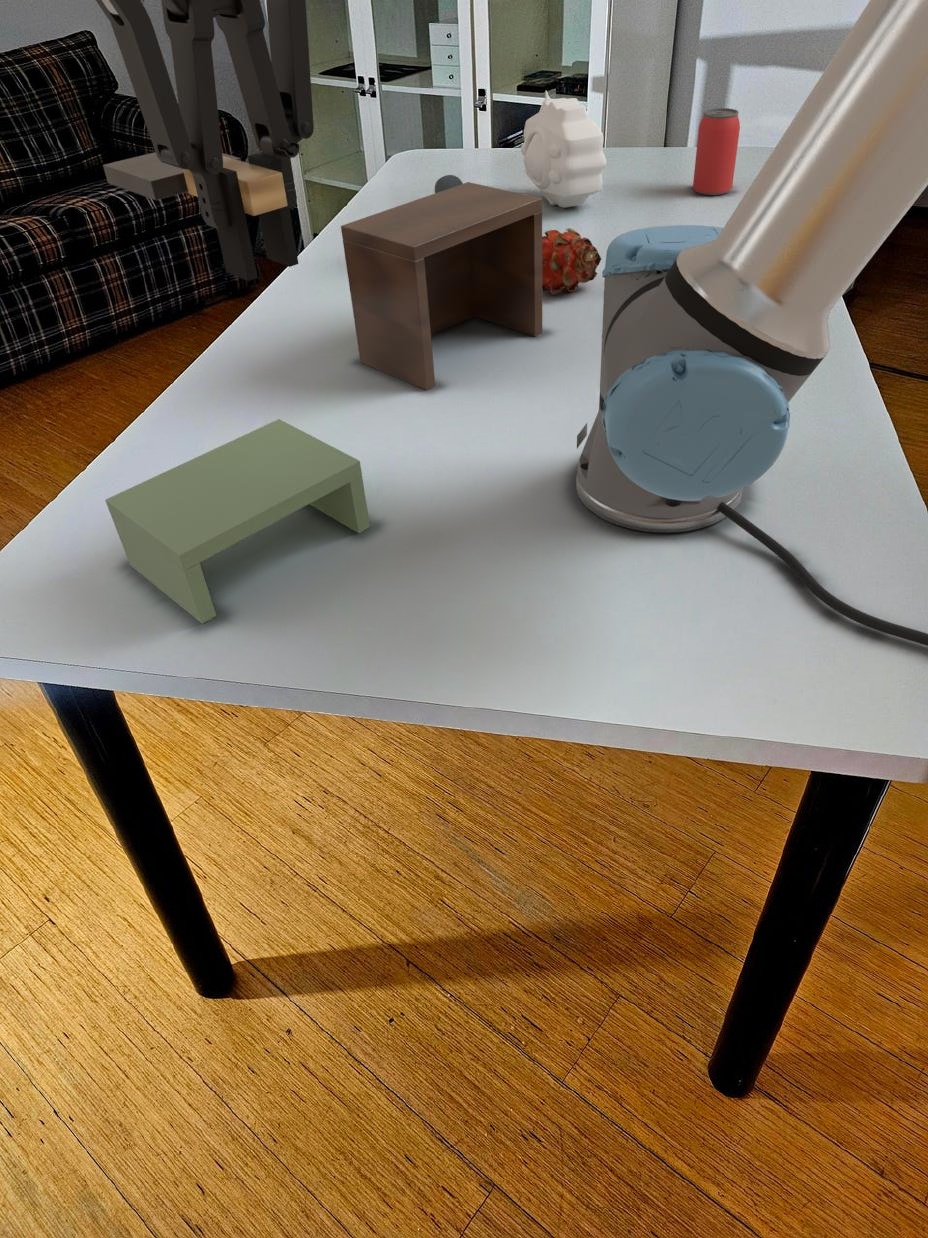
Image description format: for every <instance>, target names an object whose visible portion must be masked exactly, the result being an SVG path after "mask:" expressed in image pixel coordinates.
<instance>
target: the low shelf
mask: <svg viewBox="0 0 928 1238" xmlns="http://www.w3.org/2000/svg"><path fill="white" fill-rule="evenodd" d="M104 502H105V503H106V506H107V509H108V511H109V514H110V517H111V519H112V522H113V525H114V527H115V530H116V532H117V535H118V538H119V541H120V543H121V545H122V547H123V550H124V553H125V556H126V558H127V561H128V563H129V566H130V567H132V568H133V569H134V570H135V571H136V572H138V573H139V574H140V575H141V576H142V577H144V579H146V580H148V581H149V582H150V583H151V584H152V585H153V586H155V587H156V588H157V589H158V590H159V591H161V592H162V593H163V594H165V595H166V596H167V597H168V598H170V599H171V600H172V601H173V602H174V603H176V604H177V605H178V606H179V607H181V608H182V609H183V610H185V611H186V612H187V613H188V614H189V615H191V616H192V617H193V618H194V619H195V620H197V622H199V623H200V624H202V625H203V624H205V623H207V622H208V621H210V620H212V619H215V617H217V613H216V610H215V607H214V604H213V601H212V597H211V594H210V591H209V588H208V585H207V581H206V579H205V576H204V573H203V568H202V565H201V562H204V561H205V560H207V559H210V558H211V557H213V556H214V555H216V554H218V553H220V552H222V551H224V550H226V549H228V548H229V547H231V546H234V545H235V544H237V543H239V542H240V541H242V540H244V539H247V538H248V537H250V536H252V535H254V534H255V533H258V532H259V531H261V530H263V529H266V528H267V527H269V526H271V525H272V524H275V523H276V522H278V521H280V520H282V519H283V518H286V517H288V516H290V515H292V514H293V513H295V512H297V511H299V510H301V509H302V508H304V507H306V506H308V505H309V506H312V507H313V508H315V509H317V510H318V511H319V512H322V513H323V514H325V515H327V516H328V517H329V518H332V519H333V520H335V521H337V522H338V523H339V524H341V525H343V526H345V527H346V528H348V529H350V530H352V531H354V532H355V533H357V534H361V533H363V532H364V531H366V530H368V529H369V528H370V527H371V523H370V517H369V511H368V505H367V499H366V493H365V485H364V479H363V472H362V466H361V461H360V460H359V459H357V458H355V457H353V456H351V455H349V454H347V453H346V452H343V451H341V450H340V449H338V448H336V447H334V446H332V445H330V444H329V443H326V442H324V441H322V440H320V439H318V438H316V437H315V436H313V435H311V434H309V433H307V432H305V431H304V430H301V429H299V428H297V427H296V426H293V425H292V424H290V423H287V422H286V421H284V420H282V419H280V418H278V419H276V420H274V421H271V422H269V423H267V424H265V425H263V426H261V427H259V428H256V429H255V430H252V431H250V432H248V433H246V434H243V435H241V436H239V437H236V438H235V439H233V440H231V441H229V442H227V443H223V444H222V445H220V446H218V447H215V448H213V449H211V450H209V451H207V452H205V453H202V454H201V455H199V456H196V457H194V458H191V459H189V460H188V461H185V462H183V463H181V464H179V465H177V466H174V467H173V468H171V469H168V470H166V471H164V472H162V473H160V474H158V475H156V476H153V477H151V478H149V479H147V480H145V481H143V482H140V483H138V484H136V485H134V486H131V487H129V488H127V489H125V490H123V491H120V492H119V493H117V494H115V495H112V496H110V497H108V498H106V499H105V500H104Z"/></svg>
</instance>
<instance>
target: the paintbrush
mask: <svg viewBox="0 0 928 1238" xmlns="http://www.w3.org/2000/svg"><path fill="white" fill-rule="evenodd" d="M461 184H464V182H463V181H462V180H461V178H459V177H458V176H456V175H454V174H445V175H443V176H441V177H439V179H437V180H436V182H435V183H434V194H435V193H438V192H441V191H444V190H447V189H449V188H452V187H455V186H458V185H461Z"/></svg>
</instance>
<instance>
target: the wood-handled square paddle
mask: <svg viewBox="0 0 928 1238" xmlns="http://www.w3.org/2000/svg"><path fill="white" fill-rule="evenodd" d="M222 156H223V168H227V169H230V170H234V171H237V176H238V182H239V187H240V192H241V197H242V202H243V207H244V211H245V214H246V215H249V216H252V217H255V216H259V214H262V213H266V212H269V211H272V210H276V209H279V208H282V207H286V206H287V200H286V194H285V188H284V182H283V176H282V173H281V172H278V171H274V170H271V169H267V168H264V167H260V166H256V165H253V164H249V162H247V161H242V159H241V158H240V157H237V156H233V155H230V154H227V153H223V152H222ZM102 167H103V171H104V174H105V177H106V181H107V183H108V184H110V185H113V186H115V187H118V188H121V189H123V190H126V191H129V192H132V193H134V194H137V195H140V196H142V197H145V198H148V199H151V200H154V201H160V200H162V199H166V198H170V197H174V196H178V195H181V194H186V193H188V194H189V195H190V196H193V197H197V198H198V195H197V191H196V187H195V182H194V178H193V175H192V173H191V172H190V171H189V170H188V169H187V170H185V169H182V168H178V167H175V166H172V165H169V164H166V163H163V162H161V161H160V160H159V159H158V157H157V155H156V152H155V151H154V152H151V153H145V154H143V155H139V156H134V157H129V158H126V159H122V160H118V161H113V162H110V163H105V164H103V165H102Z"/></svg>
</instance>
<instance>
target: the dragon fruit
mask: <svg viewBox="0 0 928 1238" xmlns="http://www.w3.org/2000/svg"><path fill="white" fill-rule="evenodd" d="M565 230H566V231H564V232H561V231H559V230H557V229H551V230H546V231H544V235H542V290H549V293H550V294H551V295H553V296H555V295H556V294H559V293H561V292H562V290H563V289H565V290H566V291H567V292H574V291H576V290H578V289H579V284H580V283H582V284H587V283H589V282H591V281H594V280H595V278H596V277H597V275H598V272H597V268H598V266H599V265H600V263H601V261H602V258H601V255H600V253H599V251H598V248H597V247H595V246H594V245H593V243H592V241H591V240H590V238H587V237H584V236H583V237H582V236H581V234H580V233H578V232H577V230H574V229H573V228H572V227H568V228H565Z"/></svg>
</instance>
